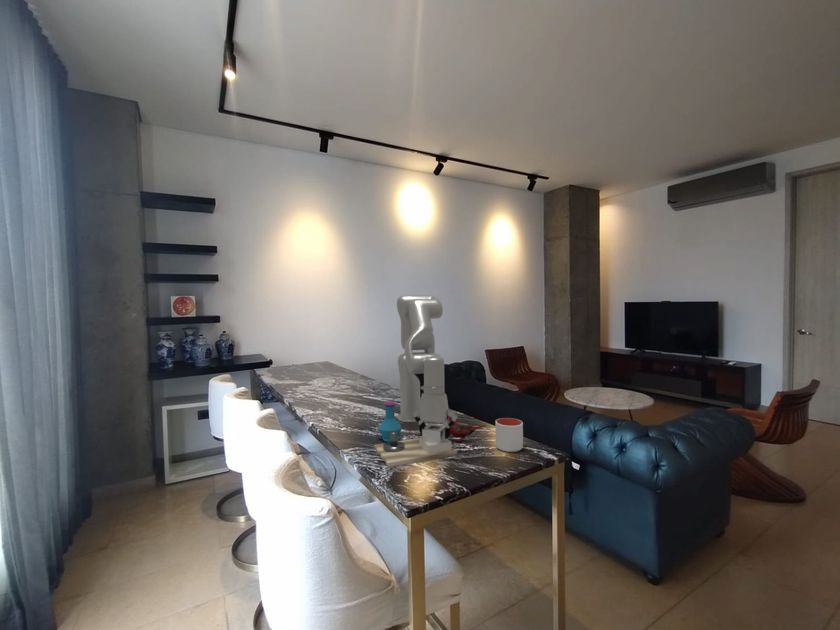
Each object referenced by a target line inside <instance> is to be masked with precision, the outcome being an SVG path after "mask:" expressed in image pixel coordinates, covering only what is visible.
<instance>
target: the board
mask: <svg viewBox="0 0 840 630" xmlns="http://www.w3.org/2000/svg"><path fill="white" fill-rule="evenodd" d="M419 438H420V437H417V438H410V439H405V440H404V439H403V440H397V442H402V443H404V444H405V448H404V450H402V451H399V452H387V451H385V450H383V445H384V444H385V443H386V442H384V443H378V444H374V445H373V450H374V451H375V450H376V451H377V452H376V451H375V452H376V454H377V453H378V454H379V455H380V456H379V455H378V454H377V455H378V456H379V457H381V458H382V459H383V460H382V459H381V458H380V459H381V460H382V461H384V462H385V463H384V462H383V463H384V464H385V466H386V465H387V466H386V467H387V468H392V467H398V466H404V465H409V464H414V463H416V464H417V463H421V462H426V461H432V460H435V459H436V460H437V459H442V458H443V459H444V458H449V457H453V456H458V450H456V449H455V448H454V447H453V446H451V450H449V451H444V452H438V453H432V454H428V453H427V452H426V451H425V450H424V449H423V448H421V447H420V446H419Z"/></svg>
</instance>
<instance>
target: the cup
mask: <svg viewBox="0 0 840 630" xmlns="http://www.w3.org/2000/svg"><path fill="white" fill-rule="evenodd" d="M523 427H524V423H523V421H522V420H520V419H517V418H511V417H501V418H498V419H495V446H496V448H497V449H498V450H500V451H503V452H507V453H517V452H519V451H521V450H523V447H524V428H523Z"/></svg>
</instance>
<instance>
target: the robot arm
mask: <svg viewBox="0 0 840 630" xmlns="http://www.w3.org/2000/svg"><path fill="white" fill-rule="evenodd" d="M442 304H443V303H442V302H441V301H440V299H439V298H437V297H436V296H435V295H432V294H408V295H407V294H405V295H400V296H398V297H397V300H396V308H397V312H398V315H399V318H400V343H401V347H402V349H403V350H404V353H401V354H400V355H399V356H398V358H397V365H398V372H399V373H398V374H399V382H400V383H399V391H400V392H399V394H400V399H399V400H400V414H398V415H397V418H396V420H397V421H398V422H403V423H417V424H418V427H419V434H420V437H422V429H423V428H425V427H426V423H425V422H428V423H433V424H434V423H435V424H437V423H438V424H443V425H444V426H446V428H445V439H448V440H449V438H450V437H451V436H452V435H451V426H452V425H453V424H454V423H455V421H457V419H458V415H457V414H456V413H454V412H452V411H451V410H449V403H448V402H449V401H448V396H447V394H446V393H445V392H446V391H445V359H444V358H443V357H442V356H441V355H440V353H436V352H435V350H436V348H435V346H436V345H435V342H436V341H435V335H434V329H433V328H434V327H433V323H432V319H440V318H441V317H442V316H443V311H444V310H443V309H444V308H443V305H442ZM413 351H421V352H413ZM416 374H417V375H419V374H423V385H421V382H420V381H421V380H420V379H419V377H418V376H417V375H416ZM421 390H422V391H423V392H422V393H421ZM449 417H450V418H452V421H451V422H450V421H449V420H448V418H449ZM416 421H417V422H416Z"/></svg>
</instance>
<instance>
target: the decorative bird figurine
mask: <svg viewBox="0 0 840 630" xmlns="http://www.w3.org/2000/svg"><path fill="white" fill-rule="evenodd" d="M448 420H449V421H450V422H451V421H452V417H450V416H449V418H448ZM486 426H487V424H483V425H478V426H473V425H470V424H468V423H464V422H463V423H462V422H459V421H457V420H456V421H455V423H454V424H453V425H452V426H451V435H450V436H453V437H455V438H458V439H455V442H456V443H457V442H458V443H459V442H464V441H465V442H466V439H465V438H467V437H469V436H470V435H473V433H474V432H476V431H477V430H479V429H481V428H484V427H486Z"/></svg>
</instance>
